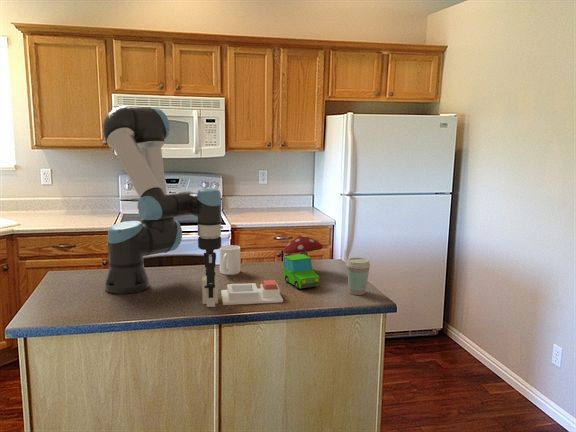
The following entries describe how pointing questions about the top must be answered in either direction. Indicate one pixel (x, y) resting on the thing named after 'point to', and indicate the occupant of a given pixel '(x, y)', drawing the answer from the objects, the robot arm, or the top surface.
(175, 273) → the top surface
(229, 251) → the mug
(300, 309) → the top surface
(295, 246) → the decorative mushroom
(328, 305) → the top surface
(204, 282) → the plug
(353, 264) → the coffee cup
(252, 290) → the socket plate
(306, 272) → the toy car
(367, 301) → the top surface
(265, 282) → the switch
